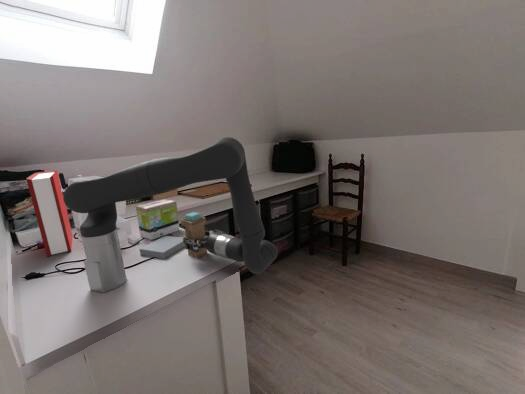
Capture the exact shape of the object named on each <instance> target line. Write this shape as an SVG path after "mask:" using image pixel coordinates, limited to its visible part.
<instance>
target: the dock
mask: <svg viewBox="0 0 525 394" xmlns="http://www.w3.org/2000/svg"><path fill="white" fill-rule="evenodd" d="M183 238H184V237H180V236H178V237H177V236H172V235H171V236H169V235H164V236H161V237H159V239H157V240H153V241H152V242H150V243H148V244H146V245H145V246H143V247H140V248H139V253H140V256H144V257H145V256H146V257H150V256H151V257H152V258H156V257H157V258H156V259H163V260H164V259H167V258H168V257H170V256H171V255H173V254H175V253H176V252H178V251H179V250H181V249H183V248H186V245H185V244H184V243H183ZM151 257H150V258H151Z"/></svg>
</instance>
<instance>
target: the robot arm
mask: <svg viewBox="0 0 525 394" xmlns="http://www.w3.org/2000/svg"><path fill="white" fill-rule="evenodd" d="M247 165H248V164H247V159H246V151H245V148H244V146H243V144H242V143H241V142H240V141H239V140H238V139H236V138H234V137H229V136H227V137H222V138H220V139H218V140H216V141H215V142H214V143H213V144H211V145H209V146H208V147H205V148H202V149H201V150H198V151H195V152H193V153H190V154H187V155H183V156H173V157H172V156H171V157H160V158H155V159H154V158H153V159H152V160H151V159H150V160H147V161H144V162H143V161H142V162H141V163H138V164H135V165H132V166H129V167H126V168H124V169H121V170H119V171H116V172H114V173H111V174H110V175H107V176H104V177H99V176H96V177H91V178H90V177H89V178H85V179H81V180H76V181H74V182H72V183H71V184H69V185H68V186H67V187H66V188H65V190H64V192H63V200H64V203H65V206H66V208H68V209H69V210H71V211H73V212H75V213H78V214H87V216H86V218H85V220H84V221H83V223H81V224H80V226H79V233H80V237H81V240H82V245H83V249H84V254H85V258H86V259H85V260H84V261H83V264H84V270H85V274H86V276H87V281H88V286H89V289H90V290H91V291H95V292H99V293H102V294H103V293H106V292H108V291H111V290H112V291H113V290H114V289H117V288H119V287H121V286H122V285H124V284H125V283H126V281H127V280H128V279H127V278H128V277H127V273H126V270H125V264H124V259H123V252H122V250H121V249H122V248H121V245H120V244H121V243H120V239H119V234H118V229H117V221H118V212H117V211H118V210H117V205H116V203H120V202H126V201H132V200H133V201H134V200H138V199H142V198H143V199H144V198H149V197H153V196H157V195H161V194H165V193H168V192H171V191H175V190H178V189H181V188H184V187H187V186H190V185H193V184H197V183H203V182H209V181H218V180H225V181H226V183H227V186H228V188H229V192H230V198H231V203H232V211H233V215H234V216H233V217H234V219H235V223H236V226H237V229H238V232H239V234H240V237H241V238H239V237H235V236H233V235H231V234H226V231H224V230H219V229H214V230H206V229H205V236H204V237H196V238H195V239H190V238H187V237H186V236H184V237H182V238H183V243H184V244H185V245H186V246H185V249H186V250H187V251H188V250H191V251H195V252H198V251H199V248H206V249H207V252H208V253H211V254H212V255H215V256H218V257H221V258H225V259H229V260H231V261H235V262H239V263H244V265H245V267H246V268H247V270H248V271H249V272H251V273H252V274H255V275H260V274H262V273H264V271H266V269H267V268H268V267H270V266H271V265H272V263H273V262H274V261H275V260H276V259H277V257H278V249H277V246H276V245H275V244H274V243H273V242H271V241H269V240H267V239H264V238H265V236H266V230H265V227H264V224H263V221H262V218H261V215H260V211H259V209H258V206H257V202H256V200H255V196H254V192H253V189H252V185H251V182H250V178H249V172H248V166H247ZM198 240H200V244H198ZM192 241H194V242H195V243H193V242H192Z"/></svg>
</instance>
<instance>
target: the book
mask: <svg viewBox="0 0 525 394" xmlns="http://www.w3.org/2000/svg"><path fill="white" fill-rule="evenodd" d="M25 180H26V184H27V188H28V191H29V194H30V198H31V202H32V206H33V209H34V213H35V217H36V220H37V224H38V228H39V232H40V236H41V240H42V243H43V246H44V251H45V254H46V258H49V257H51V256H52V255H56V254H57V255H58V254H61V253H65V252H70V253H72V249H73V248H72V247H73V232H72V227H71V223H70V220H69V219H70V218H69V214H68V210H67V206H66V205H65V203H64V200H63V195H64V192H63V191H62V192H61V189H62V186H61V182H60V177H59V173H58V170H47V171H41V172H40V171H38V172H34V173H32V174H31V175H29V176H28V177H27V178H25Z"/></svg>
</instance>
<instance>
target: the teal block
mask: <svg viewBox="0 0 525 394" xmlns="http://www.w3.org/2000/svg"><path fill="white" fill-rule="evenodd" d="M184 217H185V218H184V219H185V220H186V221H189V222H194V221H197V220H200V219H201V217H202V216H201V212H200V213H199V212H195V211H192V212H190V213H186V214H185V215H184Z"/></svg>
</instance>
